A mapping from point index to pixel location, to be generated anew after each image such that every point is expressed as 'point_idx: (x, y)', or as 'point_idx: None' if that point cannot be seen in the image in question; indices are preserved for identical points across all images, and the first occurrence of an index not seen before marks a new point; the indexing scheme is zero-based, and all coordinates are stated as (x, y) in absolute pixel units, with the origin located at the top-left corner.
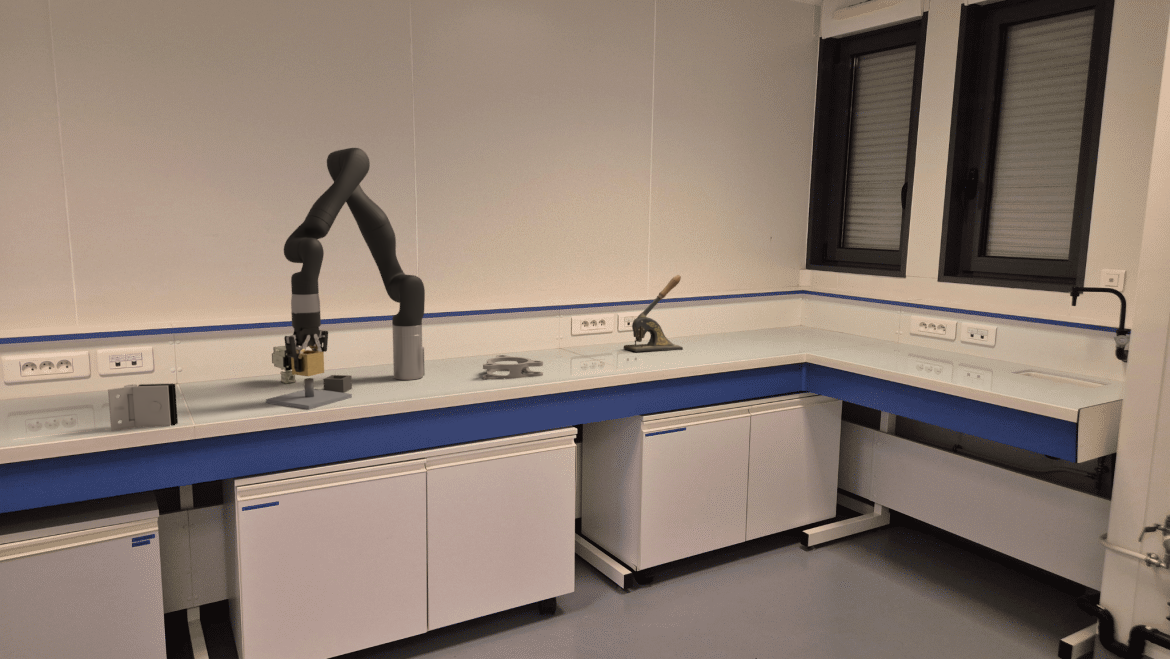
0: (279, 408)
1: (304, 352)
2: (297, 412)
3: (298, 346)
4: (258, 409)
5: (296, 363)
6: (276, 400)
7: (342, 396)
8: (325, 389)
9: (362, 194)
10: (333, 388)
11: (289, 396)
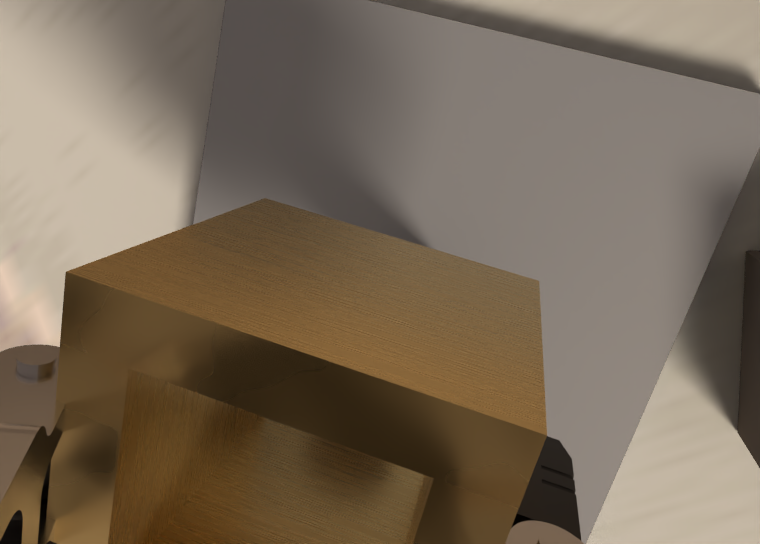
0: (138, 196)
1: (344, 431)
2: None
3: (3, 515)
4: (67, 62)
5: None
6: (219, 93)
7: None
8: (754, 275)
9: None
10: (754, 360)
11: (373, 114)
